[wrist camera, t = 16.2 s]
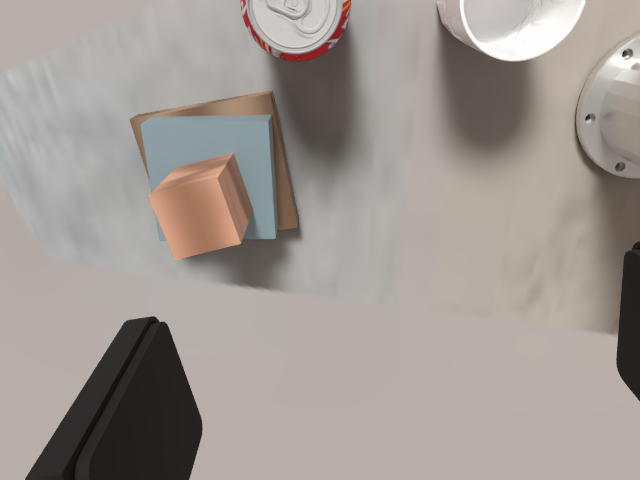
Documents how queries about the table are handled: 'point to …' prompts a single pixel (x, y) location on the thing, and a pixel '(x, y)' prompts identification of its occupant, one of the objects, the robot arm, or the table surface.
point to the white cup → (510, 25)
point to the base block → (241, 106)
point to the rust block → (203, 206)
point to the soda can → (296, 26)
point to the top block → (213, 141)
